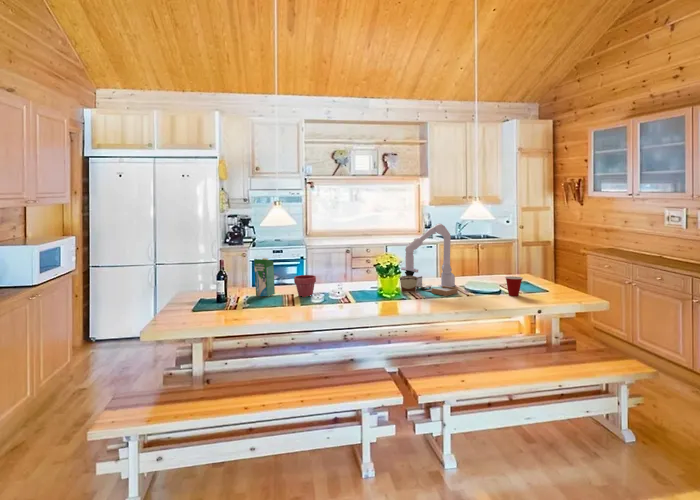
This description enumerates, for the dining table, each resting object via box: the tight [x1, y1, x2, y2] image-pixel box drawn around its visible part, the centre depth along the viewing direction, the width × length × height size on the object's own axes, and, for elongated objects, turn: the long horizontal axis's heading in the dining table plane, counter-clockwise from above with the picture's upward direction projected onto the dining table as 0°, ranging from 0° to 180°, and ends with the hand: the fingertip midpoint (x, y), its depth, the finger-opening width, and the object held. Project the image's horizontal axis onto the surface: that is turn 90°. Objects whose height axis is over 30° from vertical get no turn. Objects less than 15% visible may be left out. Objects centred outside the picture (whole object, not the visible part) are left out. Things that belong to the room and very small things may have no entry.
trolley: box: [416, 275, 433, 291], centre depth 329 cm, size 7×9×8 cm
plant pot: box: [293, 274, 317, 298], centre depth 316 cm, size 14×14×13 cm
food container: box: [399, 275, 418, 293], centre depth 323 cm, size 12×6×10 cm, turn 84°
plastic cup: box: [504, 275, 524, 297], centre depth 304 cm, size 11×11×12 cm
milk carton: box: [253, 257, 276, 297], centre depth 320 cm, size 9×9×25 cm
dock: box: [423, 286, 459, 297], centre depth 318 cm, size 12×21×4 cm, turn 40°
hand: (409, 281), depth 338 cm, fingers closed
